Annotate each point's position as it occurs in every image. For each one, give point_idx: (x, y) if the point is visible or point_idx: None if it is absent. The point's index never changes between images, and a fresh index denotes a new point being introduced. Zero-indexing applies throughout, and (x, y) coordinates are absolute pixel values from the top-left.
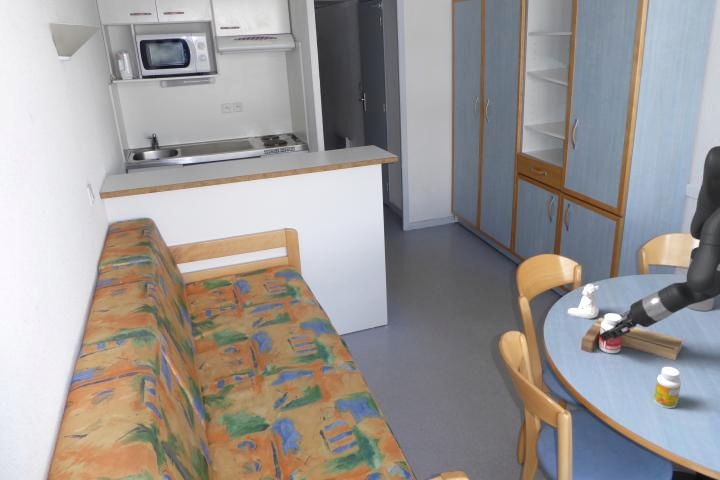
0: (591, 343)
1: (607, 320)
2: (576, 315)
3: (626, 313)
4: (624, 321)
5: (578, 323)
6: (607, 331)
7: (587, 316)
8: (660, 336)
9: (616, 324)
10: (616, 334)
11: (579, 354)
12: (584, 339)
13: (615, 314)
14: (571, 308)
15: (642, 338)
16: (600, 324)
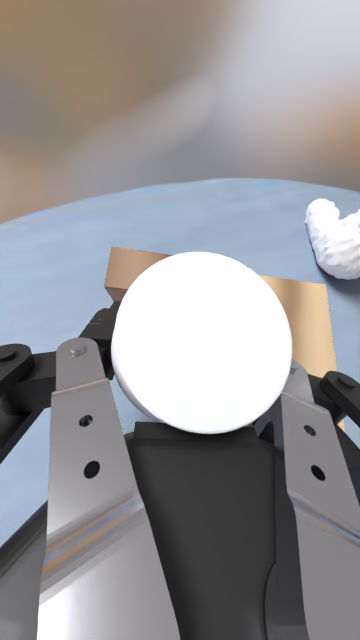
0: (106, 288)
1: (130, 293)
2: (309, 228)
3: (319, 564)
4: (13, 582)
5: (275, 243)
6: (96, 331)
7: (320, 254)
8: None
9: (53, 404)
10: (39, 408)
11: (89, 275)
12: (110, 256)
13: (277, 343)
14: (329, 202)
15: None
16: (279, 294)
